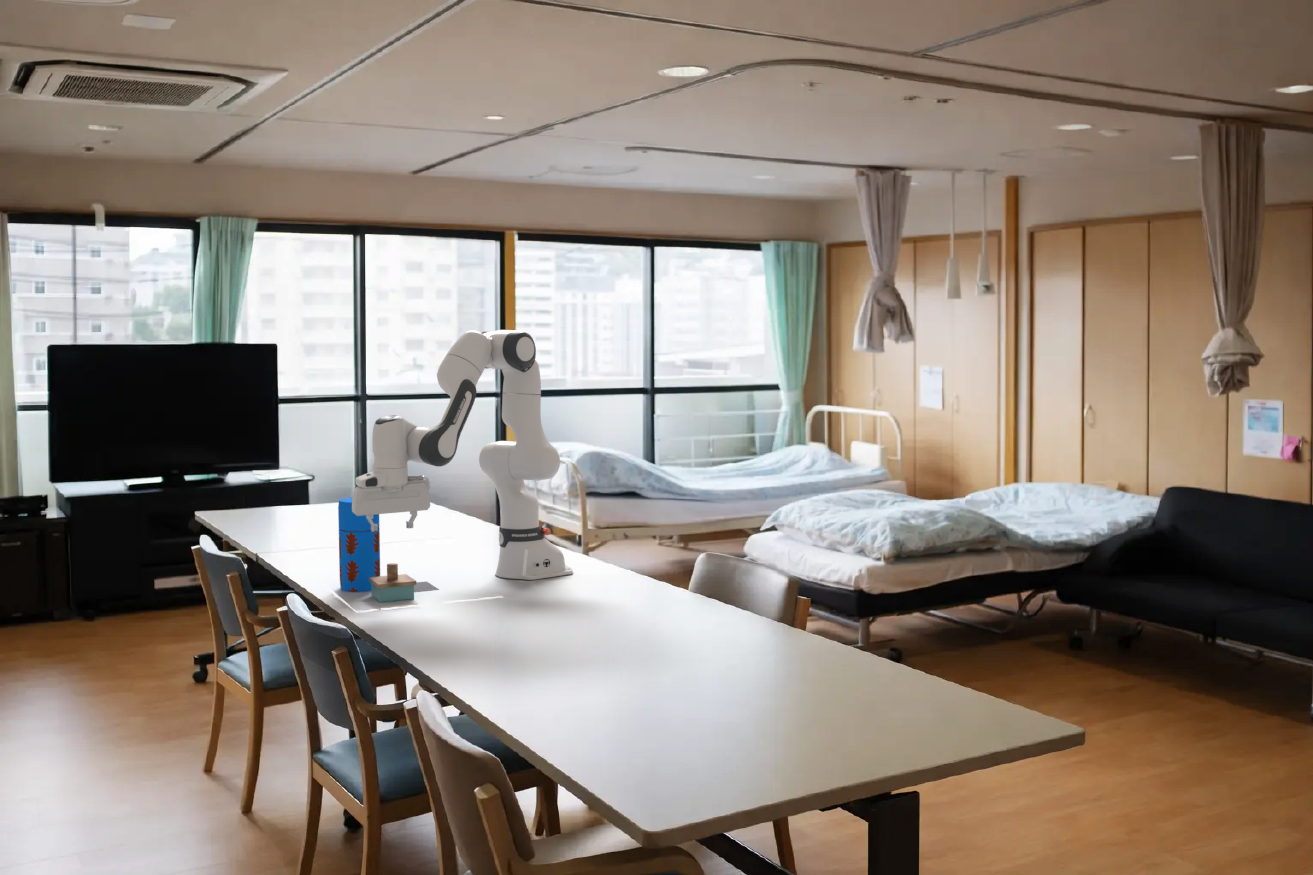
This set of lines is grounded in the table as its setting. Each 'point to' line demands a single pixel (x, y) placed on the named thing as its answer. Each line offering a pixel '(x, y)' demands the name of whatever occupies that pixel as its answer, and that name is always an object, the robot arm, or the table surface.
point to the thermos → (357, 549)
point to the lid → (392, 578)
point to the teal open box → (392, 593)
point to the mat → (424, 587)
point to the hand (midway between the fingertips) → (392, 529)
